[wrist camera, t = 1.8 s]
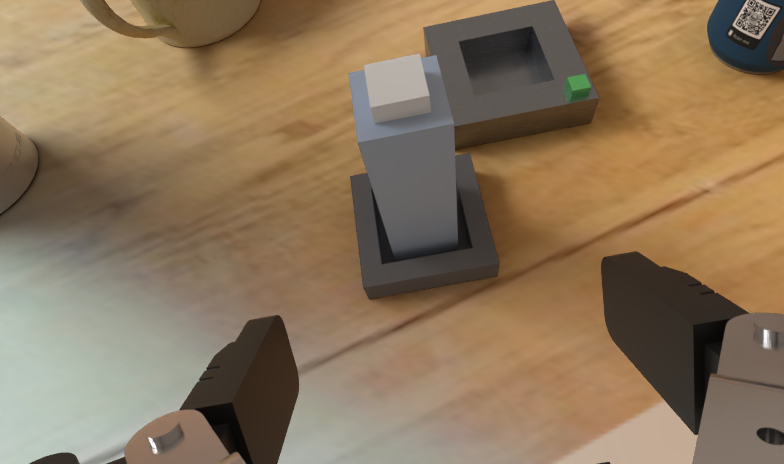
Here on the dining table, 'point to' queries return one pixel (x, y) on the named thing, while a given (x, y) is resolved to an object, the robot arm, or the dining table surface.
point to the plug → (408, 152)
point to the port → (511, 74)
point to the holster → (431, 270)
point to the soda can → (748, 35)
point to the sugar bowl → (179, 19)
